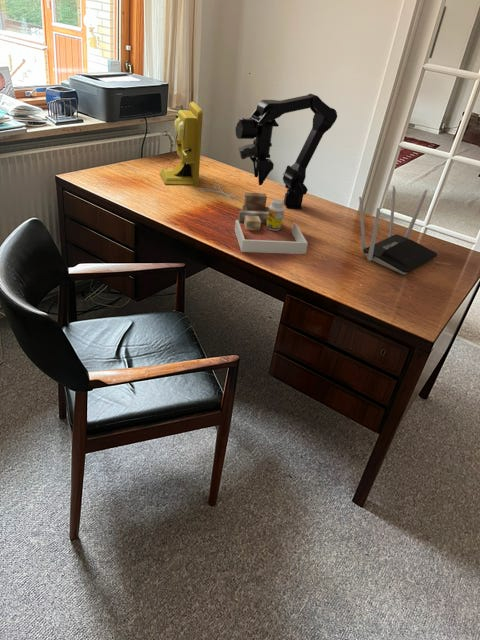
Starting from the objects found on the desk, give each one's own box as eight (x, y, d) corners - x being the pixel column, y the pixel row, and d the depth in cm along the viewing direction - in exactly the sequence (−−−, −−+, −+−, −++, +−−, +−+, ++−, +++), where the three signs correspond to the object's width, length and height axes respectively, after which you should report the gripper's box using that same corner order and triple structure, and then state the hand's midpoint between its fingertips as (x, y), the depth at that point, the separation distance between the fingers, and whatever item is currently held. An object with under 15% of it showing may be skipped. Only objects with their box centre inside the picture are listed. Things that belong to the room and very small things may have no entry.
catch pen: (293, 232, 172) (295, 222, 169) (305, 254, 158) (307, 243, 156) (234, 230, 168) (235, 219, 165) (241, 251, 154) (242, 240, 152)
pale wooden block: (257, 225, 174) (258, 216, 172) (259, 230, 170) (261, 221, 168) (244, 224, 173) (245, 215, 171) (246, 230, 169) (247, 221, 167)
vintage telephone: (155, 166, 217) (156, 95, 201) (185, 167, 222) (188, 97, 205) (167, 190, 193) (169, 112, 176) (201, 190, 197) (206, 114, 181)
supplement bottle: (263, 225, 174) (267, 198, 169) (277, 224, 176) (282, 198, 170) (268, 231, 170) (273, 204, 164) (283, 231, 172) (287, 204, 166)
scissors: (213, 183, 206) (248, 197, 196) (213, 185, 206) (248, 199, 196) (196, 188, 199) (231, 202, 189) (196, 189, 199) (231, 204, 189)
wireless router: (397, 283, 148) (417, 223, 137) (336, 254, 160) (350, 197, 149) (442, 255, 169) (463, 201, 158) (385, 232, 182) (401, 181, 171)
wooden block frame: (273, 207, 190) (275, 194, 187) (281, 223, 178) (283, 209, 174) (233, 205, 187) (235, 191, 184) (239, 221, 175) (240, 206, 172)
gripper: (237, 130, 179) (233, 172, 188) (245, 144, 164) (240, 188, 172) (266, 132, 181) (261, 173, 189) (276, 146, 166) (270, 190, 174)
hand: (257, 181), depth 181 cm, fingers open, 9 cm apart
